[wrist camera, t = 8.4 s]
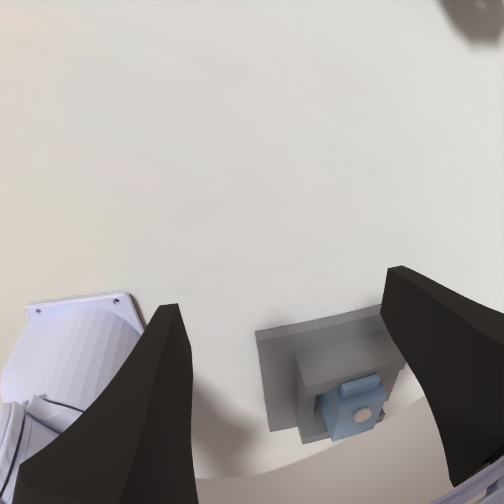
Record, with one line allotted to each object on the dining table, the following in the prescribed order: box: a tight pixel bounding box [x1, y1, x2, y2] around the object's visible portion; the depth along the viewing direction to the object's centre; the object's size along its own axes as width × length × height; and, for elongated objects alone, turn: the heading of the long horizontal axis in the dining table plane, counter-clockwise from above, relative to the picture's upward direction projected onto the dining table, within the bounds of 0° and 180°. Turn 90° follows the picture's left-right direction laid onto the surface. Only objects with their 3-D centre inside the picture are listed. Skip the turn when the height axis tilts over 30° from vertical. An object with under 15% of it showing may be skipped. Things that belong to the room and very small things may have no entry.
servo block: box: [318, 374, 387, 441], centre depth 23 cm, size 4×8×6 cm, turn 7°
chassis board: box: [255, 304, 406, 444], centre depth 25 cm, size 14×15×4 cm
